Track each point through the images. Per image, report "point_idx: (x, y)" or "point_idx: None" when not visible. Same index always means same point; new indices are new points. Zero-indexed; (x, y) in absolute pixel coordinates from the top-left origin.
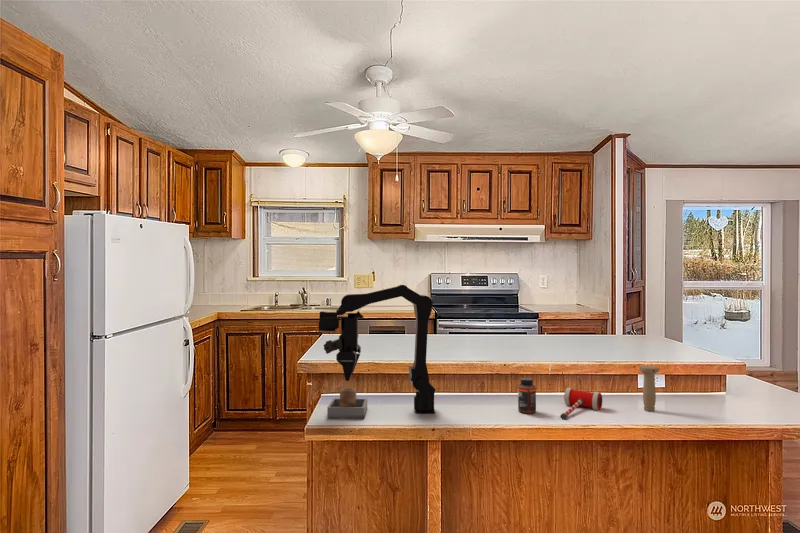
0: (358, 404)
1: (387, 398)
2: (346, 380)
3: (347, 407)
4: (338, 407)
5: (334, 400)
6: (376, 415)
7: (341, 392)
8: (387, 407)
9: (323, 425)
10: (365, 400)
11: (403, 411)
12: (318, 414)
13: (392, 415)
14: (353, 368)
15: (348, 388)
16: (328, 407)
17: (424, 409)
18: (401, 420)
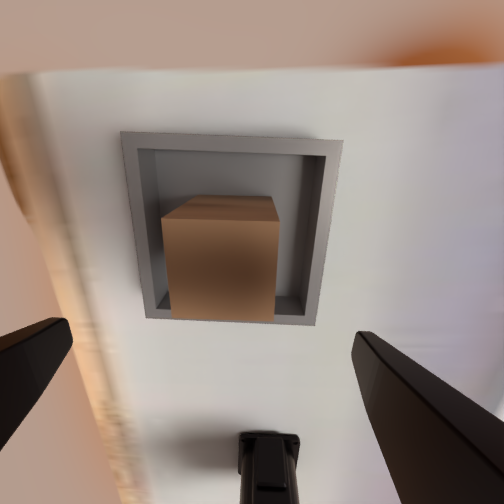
0: (304, 275)
1: (459, 365)
2: (53, 323)
3: (141, 245)
4: (132, 198)
5: (300, 154)
6: (211, 331)
7: (165, 227)
8: (320, 364)
9: (36, 132)
10: (280, 319)
11: (264, 405)
12: (214, 72)
13: (214, 376)
14: (383, 442)
15: (256, 272)
16: (123, 138)
17: (242, 462)
18: (160, 396)
